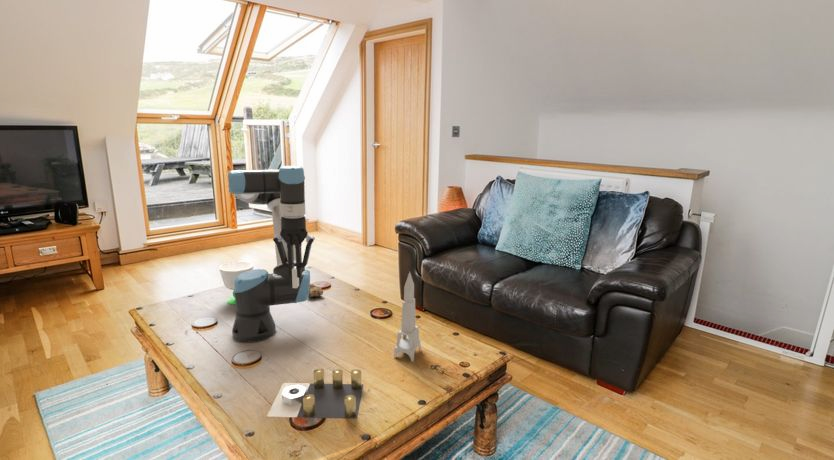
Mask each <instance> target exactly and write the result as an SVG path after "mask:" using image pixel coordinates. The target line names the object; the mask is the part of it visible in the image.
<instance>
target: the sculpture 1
mask: <svg viewBox="0 0 834 460" xmlns="http://www.w3.org/2000/svg"><path fill="white" fill-rule="evenodd" d="M323 294H324V290H322V287H319V286H316V285H315V284H313V283H310V290H309V297H311V298H312V297H314V298H316V297H320V296H322V295H323Z"/></svg>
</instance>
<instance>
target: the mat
mask: <svg viewBox="0 0 834 460" xmlns="http://www.w3.org/2000/svg"><path fill="white" fill-rule="evenodd" d="M293 385H300V386H302V387H305V388H306V392H307V394H312V395H314V396H315V415H314V416H312V417H305V416H304V412H303V404H299V405H296V406H292V407H291V406H288V405H286V404H284V403H282V393H283V391H284V389H285V388H286V387H290V386H293ZM363 390H364V384H363V383H361V389H359V390H353V389H352V388H351V383H343V388H341V389H339V390H335V389H333V383H324V388H322V389H315V388H314V382H313V383H311V382H310V383H309V382H308V383H305V382H304V383H303V382H283V383H282V385H281V387H280V388H279V391H278V393H277V395H276V397H275V399H274V400H273V403H272V404H271V407H270V409H269V410H268V412H267V415H266V417H267V418H268V417H269V418H306V419H307V418H310V419H311V418H312V419H313V418H314V419H347V418H346V417H345V404H344V398H345V397H346V396H348V395H354V396H355V397H356V416H355V417H353V418H352V419H358V415H359V409H360V406H361V400H362V396H363V395H362V394H363Z"/></svg>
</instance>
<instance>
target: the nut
mask: <svg viewBox="0 0 834 460" xmlns="http://www.w3.org/2000/svg"><path fill="white" fill-rule="evenodd" d="M305 395H307V392H306V388H305V387H302V386H300V385H293V386H290V387H286V388H285V389H284V391H283V393H282V403H284V404H286V405H288V406H291V407H292V406H296V405H299V404H303V397H304V396H305Z"/></svg>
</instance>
